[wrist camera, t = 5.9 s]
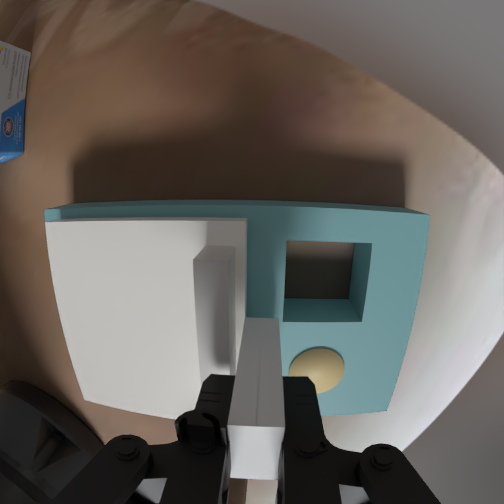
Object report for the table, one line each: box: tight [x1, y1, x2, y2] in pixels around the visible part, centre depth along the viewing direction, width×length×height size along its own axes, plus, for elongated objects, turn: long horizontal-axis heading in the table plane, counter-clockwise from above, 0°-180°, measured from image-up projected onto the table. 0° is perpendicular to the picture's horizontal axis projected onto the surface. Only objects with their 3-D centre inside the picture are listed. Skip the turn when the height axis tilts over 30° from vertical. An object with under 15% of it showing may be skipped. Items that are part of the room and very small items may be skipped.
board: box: [44, 200, 430, 416], centre depth 16 cm, size 20×12×3 cm, turn 89°
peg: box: [228, 478, 248, 504], centre depth 16 cm, size 3×3×10 cm
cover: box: [45, 217, 247, 419], centre depth 13 cm, size 10×11×3 cm
